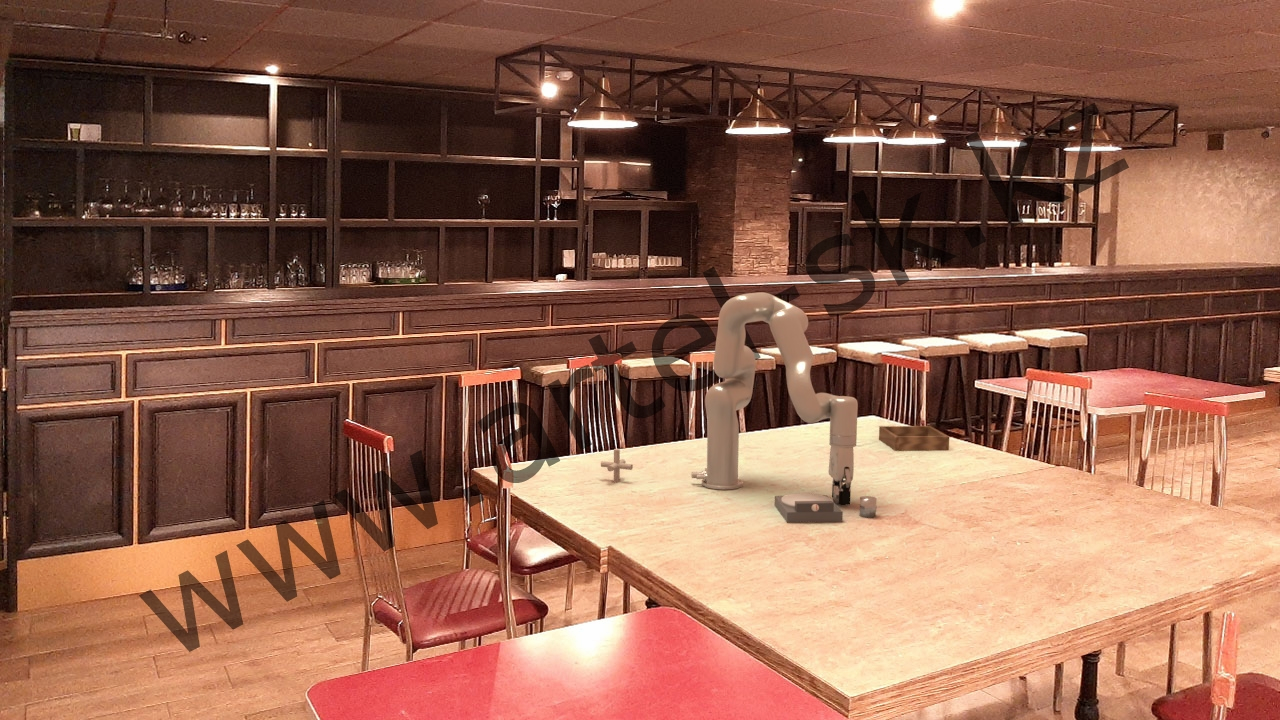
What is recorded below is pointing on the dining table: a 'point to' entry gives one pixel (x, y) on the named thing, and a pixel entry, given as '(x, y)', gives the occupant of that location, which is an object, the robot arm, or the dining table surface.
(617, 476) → the pipe connector
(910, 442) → the brown wooden tray
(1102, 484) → the dining table surface
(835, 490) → the cylinder
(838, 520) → the scale
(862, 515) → the cylinder
